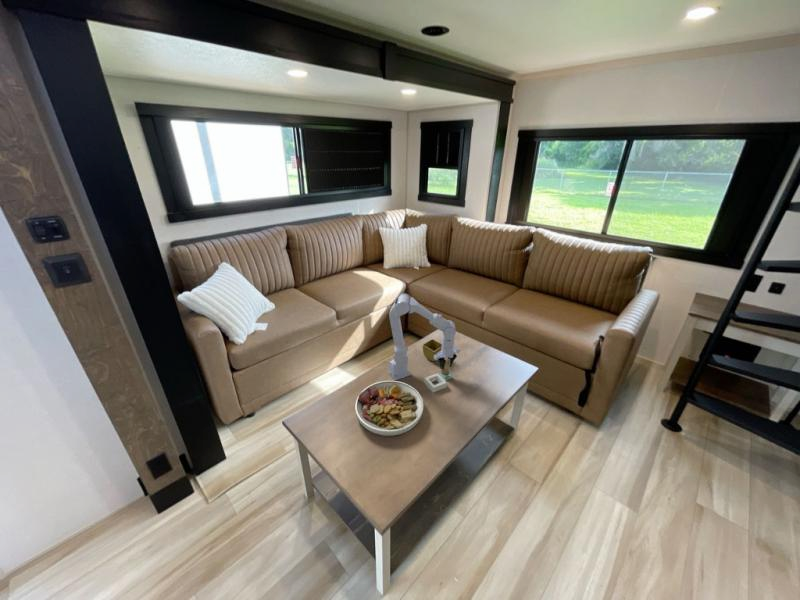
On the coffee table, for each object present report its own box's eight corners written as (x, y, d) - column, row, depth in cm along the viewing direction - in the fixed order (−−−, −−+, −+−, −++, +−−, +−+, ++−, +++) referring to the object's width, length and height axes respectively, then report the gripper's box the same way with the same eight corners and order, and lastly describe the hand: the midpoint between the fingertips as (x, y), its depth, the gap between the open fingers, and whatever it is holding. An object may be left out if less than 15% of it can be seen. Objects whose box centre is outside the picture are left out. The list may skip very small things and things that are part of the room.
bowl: (428, 395, 148) (429, 382, 144) (414, 447, 122) (415, 433, 118) (369, 383, 155) (369, 370, 151) (344, 430, 129) (343, 416, 125)
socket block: (432, 392, 149) (433, 387, 147) (424, 382, 155) (424, 378, 154) (446, 387, 152) (446, 382, 151) (437, 377, 158) (437, 373, 157)
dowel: (444, 376, 156) (445, 363, 152) (439, 371, 159) (441, 359, 156) (450, 374, 157) (452, 361, 154) (446, 369, 161) (447, 357, 157)
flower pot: (443, 358, 173) (444, 345, 169) (433, 365, 168) (434, 351, 164) (431, 351, 179) (432, 338, 175) (421, 357, 173) (422, 344, 170)
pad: (443, 381, 156) (443, 381, 156) (436, 374, 160) (436, 374, 160) (452, 378, 158) (453, 377, 158) (446, 371, 163) (446, 370, 163)
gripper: (440, 353, 144) (438, 376, 150) (464, 345, 151) (462, 367, 157) (431, 345, 150) (430, 367, 156) (455, 337, 156) (453, 359, 162)
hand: (445, 367), depth 157 cm, fingers closed on dowel, 4 cm apart
